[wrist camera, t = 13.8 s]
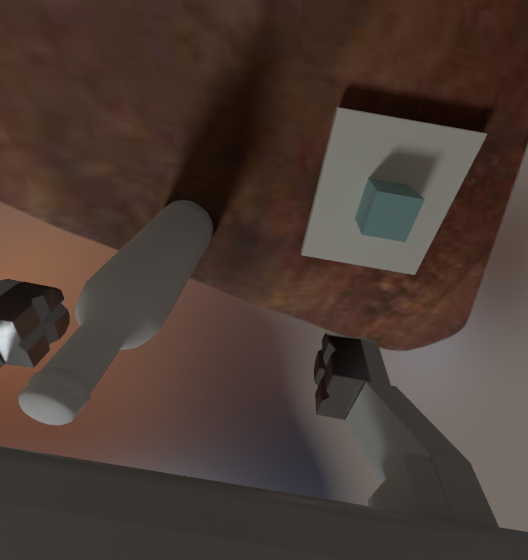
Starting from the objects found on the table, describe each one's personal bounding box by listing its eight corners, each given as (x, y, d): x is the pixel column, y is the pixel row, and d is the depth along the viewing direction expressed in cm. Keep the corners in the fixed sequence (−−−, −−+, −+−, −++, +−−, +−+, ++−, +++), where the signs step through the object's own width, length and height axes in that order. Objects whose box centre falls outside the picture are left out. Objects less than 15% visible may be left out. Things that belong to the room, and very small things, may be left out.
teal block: (368, 178, 35) (377, 191, 31) (409, 185, 35) (424, 199, 31) (354, 217, 38) (361, 234, 34) (393, 224, 38) (405, 242, 34)
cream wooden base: (335, 105, 34) (338, 107, 32) (473, 130, 34) (487, 134, 32) (301, 245, 44) (301, 255, 42) (408, 264, 44) (414, 274, 42)
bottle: (176, 187, 41) (-12, 349, 16) (224, 220, 43) (123, 410, 18) (152, 229, 45) (-28, 412, 20) (197, 258, 47) (84, 456, 22)
